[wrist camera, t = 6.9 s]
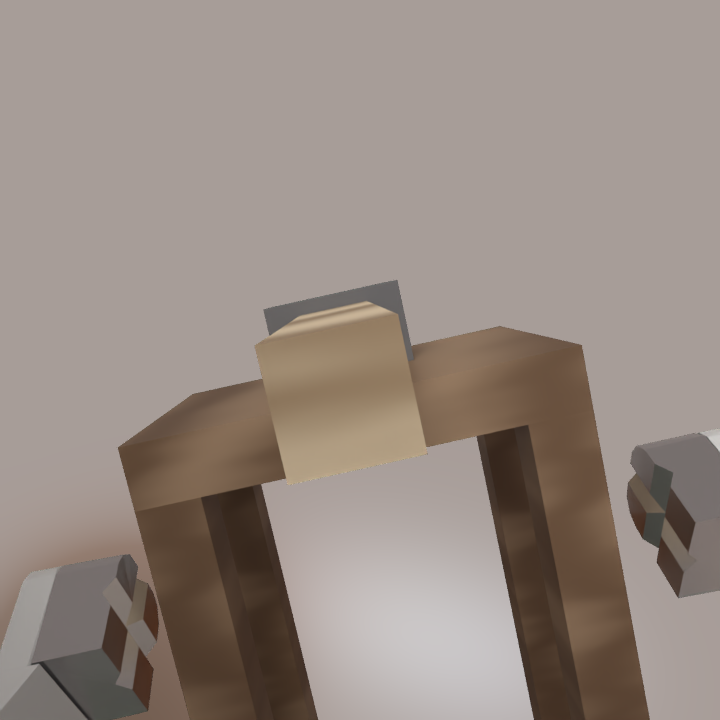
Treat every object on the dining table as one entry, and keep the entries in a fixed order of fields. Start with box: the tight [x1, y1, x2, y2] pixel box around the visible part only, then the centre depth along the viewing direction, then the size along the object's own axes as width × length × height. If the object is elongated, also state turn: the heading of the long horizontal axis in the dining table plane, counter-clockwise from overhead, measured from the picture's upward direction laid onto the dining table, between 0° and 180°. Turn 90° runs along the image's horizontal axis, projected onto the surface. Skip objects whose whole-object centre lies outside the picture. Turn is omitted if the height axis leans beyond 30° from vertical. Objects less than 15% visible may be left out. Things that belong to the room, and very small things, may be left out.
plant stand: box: [118, 326, 650, 720], centre depth 26 cm, size 14×10×26 cm
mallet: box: [255, 280, 427, 485], centre depth 20 cm, size 17×5×3 cm, turn 2°
